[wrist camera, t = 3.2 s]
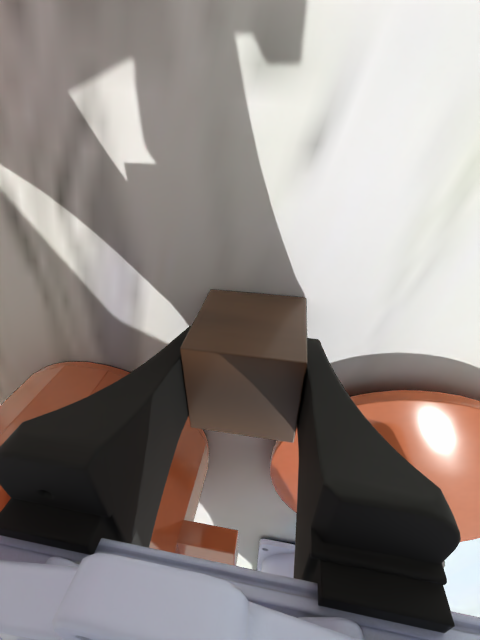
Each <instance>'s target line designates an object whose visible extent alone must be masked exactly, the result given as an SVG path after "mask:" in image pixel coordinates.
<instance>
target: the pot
mask: <svg viewBox="0 0 480 640" xmlns="http://www.w3.org/2000/svg"><path fill="white" fill-rule="evenodd" d="M129 373H130V372H127V371H124V370H122V369H119V368H115V367H111V366H108V365H103V364H97V363H92V362H79V361H77V362H63V363H57V364H53V365H50V366H47V367H45V368H43V369H41V370H39V371H37V372H36V373H33V374H32V375H31V376H30V377H29V378H28V379H27V380H26V381H25V382H24V383H23V384H22V385H21V386H20V387H19V388H18V389H17V390H16V391H15V392H14V393H13V394H12V395H11V396H10V397H9V398H8V399H7V400H6V401H5V402H3V403H2V404H1V405H0V446H1V445H2V444H3V443H4V442H5V441H6V440H7V439H8V438H9V436H10V435H11V434H12V433H13V432H14V431H15V430H16V429H17V428H18V426H19V425H20V424H21V423H22V422H24V421H27V420H30V419H33V418H35V417H38V416H41V415H44V414H47V413H49V412H52V411H55V410H57V409H60V408H62V407H65V406H67V405H70V404H72V403H74V402H77V401H79V400H81V399H83V398H85V397H88V396H90V395H92V394H94V393H96V392H97V391H99V390H101V389H103V388H105V387H107V386H109V385H111V384H113V383H115V382H116V381H118V380H120V379H121V378H123V377H125V376H126V375H128V374H129ZM208 458H209V445H208V440H207V438H206V435H205V433H204V431H203V429H198V428H192V427H191V426H190V418H189V416H188V418H187V421H186V423H185V425H184V428H183V430H182V433H181V435H180V438H179V441H178V444H177V447H176V450H175V453H174V457H173V460H172V463H171V467H170V470H169V474H168V477H167V480H166V484H165V487H164V491H163V495H162V498H161V502H160V506H159V510H158V513H157V517H156V521H155V525H154V529H153V533H152V537H151V541H150V545H149V548H152V549H157V550H162V551H167V552H171V553H176V554H181V555H186V556H190V557H195V558H200V559H205V560H209V561H214V562H219V563H224V564H228V565H233V566H236V563H237V556H238V530H233V529H228V528H223V527H218V526H213V525H207V524H202V523H197V522H194V518H195V514H196V510H197V507H198V503H199V499H200V495H201V492H202V488H203V484H204V481H205V477H206V473H207V469H208ZM10 499H11V497H10V496H9V495H8V494H7V492H6V491H5V490H4V489H3V488H2V486H1V485H0V512H1V511H2V509H3V508H4V507H5V505H6V504H7V503H8V501H9V500H10Z"/></svg>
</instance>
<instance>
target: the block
mask: <svg viewBox="0 0 480 640" xmlns="http://www.w3.org/2000/svg"><path fill="white" fill-rule="evenodd" d="M180 353H181V360H182V367H183V374H184V382H185V389H186V396H187V404H188V411H189V418H190V426H191V427H192V428H198V429H205V430H211V431H218V432H225V433H231V434H238V435H244V436H251V437H258V438H264V439H271V440H278V441H284V442H291V443H293V442H294V439H295V434H296V428H297V422H298V416H299V410H300V404H301V398H302V392H303V386H304V380H305V374H306V368H307V306H306V298H305V297H293V296H282V295H270V294H259V293H247V292H235V291H224V290H212V289H211V290H210V292H209V294H208V296H207V297H206V299H205V301H204V303H203V305H202V307H201V309H200V311H199V313H198V315H197V317H196V319H195V320H194V322H193V324H192V326H191V328H190V330H189V332H188V334H187V336H186V338H185V340H184V341H183V343H182V345H181V347H180Z"/></svg>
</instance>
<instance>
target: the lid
mask: <svg viewBox="0 0 480 640" xmlns="http://www.w3.org/2000/svg"><path fill="white" fill-rule="evenodd" d="M350 398H351V399H352V401H353V402H354V403H355V405H356V406H357V407H358V409H359V410H360V411H361V412H362V414H363V415H364V416H365V417H366V419H367V420H368V421H369V422H370V423H371V425H372V426H373V427H374V428H375V429H376V430H377V431H378V432H379V433H380V434H381V435H382V436H383V438H384V439H385V440H386V441H387V442H388V443H389V444H390V445H391V446H392V447H393V448H394V449H395V450H396V451H397V452H398V453H399V454H400V455H402V456H403V457H404V458H405V459H406V460H407V461H408V462H409V463H410V464H411V465H413V466H414V467H415V468H416V469H417V470H419V471H420V472H421V473H422V474H423V475H425V476H426V477H427V478H428V479H429V480H431V481H432V482H433V483H434V484H435V485H437V486H438V487H439V488H440V489H441V491H442V493H443V495H444V497H445V499H446V501H447V503H448V505H449V507H450V509H451V511H452V513H453V515H454V518H455V520H456V523H457V526H458V528H459V531H460V537H461V541H460V542H462V541H468V540H473V539H477V538H480V401H479V400H475V399H472V398H468V397H464V396H460V395H454V394H448V393H442V392H433V391H420V390H393V391H382V392H372V393H367V394H361V395H356V396H351V397H350ZM298 466H299V450H298V433H297V428H296V434H295V439H294V442H293V443H291V442H284V441H278V440H277V442H276V444H275V446H274V448H273V450H272V455H271V461H270V476H271V480H272V484H273V486H274V488H275V490H276V492H277V494H278V495H279V496H280V498H281V499H282V500H283V501H284V502H285V504H286V505H287V506H288V507H290V508H291V509H292V510H293V511H294V512H296V513H297V493H298ZM442 566H443V568H444V566H445V561H443V562H442Z"/></svg>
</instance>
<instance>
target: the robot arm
mask: <svg viewBox="0 0 480 640" xmlns="http://www.w3.org/2000/svg"><path fill="white" fill-rule="evenodd" d="M190 328H191V326H190V327H188V328H187V329H186V330H185V331H184V332H182V333H181V334H180V335H179V336H178V337H177V338H175V339H174V340H173V341H172V342H171V343H170V344H168V345H167V346H166V347H165V348H163V349H162V350H161V351H160V352H159V353H157V354H156V355H155V356H153V357H152V358H151V359H149V360H148V361H147V362H145V363H144V364H143V365H141V366H140V367H139V368H137V369H136V370H134V371H133V372H131V373H129V374H128V375H126V376H125V377H123V378H121V379H120V380H118V381H116V382H115V383H113V384H111V385H109V386H107V387H105V388H103V389H101V390H99V391H97V392H96V393H94V394H92V395H90V396H88V397H85V398H83V399H81V400H79V401H77V402H74V403H72V404H70V405H67V406H65V407H62V408H60V409H57V410H55V411H52V412H49V413H47V414H44V415H41V416H38V417H35V418H33V419H30V420H27V421H24V422H22V423H21V424H20V425H19V426H18V428H17V429H16V430H15V431H14V432H13V433H12V434H11V435H10V436H9V438H8V439H7V440H6V441H5V442H4V443H3V444H2V445H1V446H0V485H1V486H2V488H3V489H4V490H5V491H6V492H7V494H8V495H9V496H10V497H11V499H10V500H9V501H8V503H7V504H6V505H5V507H4V508H3V509H2V511H1V512H0V640H480V618H479V617H475V616H470V615H465V614H460V613H456V612H451V611H450V608H449V604H448V601H447V597H446V594H445V591H444V587H443V585H445V584H446V583H447V579H446V575H445V572H444V569H443V566H442V562H443V561H444V560H445V559H446V558H447V557H448V556H449V555H450V554H451V553H452V552H453V551H454V550H455V549H456V547H457V546H458V544H459V542H460V541H461V537H460V531H459V528H458V526H457V523H456V520H455V518H454V515H453V513H452V511H451V509H450V507H449V505H448V503H447V501H446V499H445V497H444V495H443V493H442V491H441V489H440V488H439V487H438V486H437V485H435V484H434V483H433V482H432V481H431V480H429V479H428V478H427V477H426V476H425V475H423V474H422V473H421V472H420V471H419V470H417V469H416V468H415V467H414V466H413V465H411V464H410V463H409V462H408V461H407V460H406V459H405V458H404V457H403V456H402V455H400V454H399V453H398V452H397V451H396V450H395V449H394V448H393V447H392V446H391V445H390V444H389V443H388V442H387V441H386V440H385V439H384V438H383V436H382V435H381V434H380V433H379V432H378V431H377V430H376V429H375V428H374V427H373V426H372V425H371V423H370V422H369V421H368V420H367V419H366V417H365V416H364V415H363V414H362V412H361V411H360V410H359V409H358V407H357V406H356V405H355V403H354V402H353V401H352V399H351V398H350V396H349V395H348V393H347V392H346V390H345V389H344V387H343V386H342V384H341V382H340V381H339V379H338V377H337V376H336V374H335V372H334V370H333V369H332V367H331V365H330V363H329V361H328V359H327V357H326V355H325V353H324V350H323V348H322V346H321V343H320V341H319V340H318V339H309V338H307V368H306V374H305V380H304V386H303V392H302V398H301V404H300V410H299V416H298V422H297V433H298V450H299V466H298V493H297V517H296V539H295V545H294V544H289V543H284V542H279V541H274V540H268V539H261V540H260V542H259V553H258V564H257V570H252V569H247V568H242V567H238V566H233V565H228V564H224V563H219V562H214V561H209V560H205V559H200V558H195V557H190V556H186V555H181V554H176V553H171V552H167V551H162V550H157V549H152V548H149V545H150V541H151V537H152V533H153V529H154V525H155V521H156V517H157V513H158V510H159V506H160V502H161V498H162V495H163V491H164V487H165V484H166V480H167V477H168V474H169V470H170V467H171V463H172V460H173V457H174V453H175V450H176V447H177V444H178V441H179V438H180V435H181V433H182V430H183V428H184V425H185V423H186V421H187V418H188V416H189V411H188V404H187V396H186V389H185V382H184V374H183V367H182V360H181V353H180V347H181V345H182V343H183V341H184V340H185V338H186V336H187V334H188V332H189V330H190Z"/></svg>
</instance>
